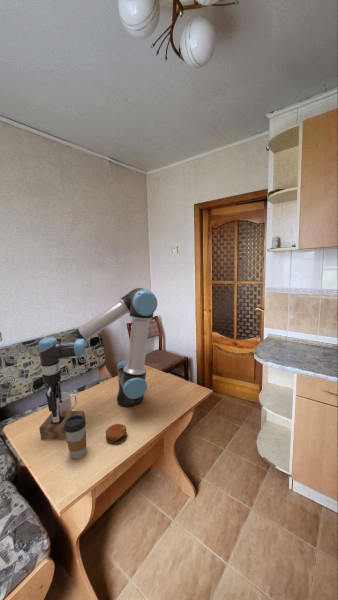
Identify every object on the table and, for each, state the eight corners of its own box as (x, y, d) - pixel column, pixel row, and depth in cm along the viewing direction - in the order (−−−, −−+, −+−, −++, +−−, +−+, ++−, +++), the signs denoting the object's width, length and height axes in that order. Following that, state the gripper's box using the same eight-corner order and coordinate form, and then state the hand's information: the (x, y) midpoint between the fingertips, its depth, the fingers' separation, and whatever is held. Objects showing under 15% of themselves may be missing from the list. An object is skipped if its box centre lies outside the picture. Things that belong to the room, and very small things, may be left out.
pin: (63, 419, 118) (60, 396, 116) (59, 424, 114) (56, 401, 112) (56, 420, 118) (52, 396, 116) (52, 425, 114) (48, 401, 113)
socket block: (85, 421, 123) (84, 410, 122) (75, 438, 112) (74, 426, 111) (54, 422, 124) (52, 411, 123) (41, 439, 112) (39, 427, 111)
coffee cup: (71, 447, 107) (67, 415, 104) (90, 445, 107) (87, 413, 105) (64, 462, 98) (60, 428, 96) (86, 460, 99) (82, 426, 97)
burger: (103, 434, 114) (102, 425, 113) (123, 427, 118) (122, 418, 117) (109, 448, 105) (108, 438, 104) (130, 440, 109) (129, 431, 108)
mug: (57, 424, 122) (55, 403, 121) (51, 416, 129) (48, 397, 127) (81, 413, 130) (78, 394, 129) (74, 407, 137) (72, 388, 135)
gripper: (48, 365, 120) (54, 410, 123) (35, 381, 104) (42, 432, 107) (65, 364, 121) (70, 408, 124) (54, 379, 105) (60, 429, 108)
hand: (57, 419), depth 116 cm, fingers closed on pin, 3 cm apart
